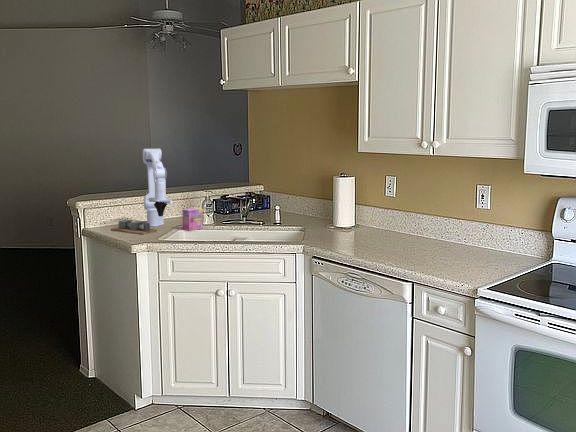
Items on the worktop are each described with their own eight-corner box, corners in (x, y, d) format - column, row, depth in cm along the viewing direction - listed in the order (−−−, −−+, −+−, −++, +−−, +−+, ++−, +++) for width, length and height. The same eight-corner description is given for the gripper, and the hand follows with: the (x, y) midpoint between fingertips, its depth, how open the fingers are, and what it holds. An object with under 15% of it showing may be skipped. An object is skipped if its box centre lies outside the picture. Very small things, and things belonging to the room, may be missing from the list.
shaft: (121, 226, 326) (121, 219, 325) (149, 229, 317) (149, 223, 317) (117, 227, 323) (117, 220, 322) (145, 230, 314) (145, 224, 314)
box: (189, 231, 321) (189, 210, 319) (182, 230, 325) (182, 209, 323) (203, 228, 330) (203, 208, 328) (196, 227, 333) (195, 207, 331)
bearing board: (125, 226, 330) (125, 218, 329) (156, 230, 321) (156, 222, 320) (110, 230, 320) (110, 221, 319) (142, 234, 310) (142, 225, 309)
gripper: (144, 190, 310) (145, 215, 313) (166, 192, 304) (167, 218, 306) (153, 189, 317) (153, 214, 319) (174, 191, 310) (175, 216, 313)
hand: (160, 216), depth 313 cm, fingers closed
